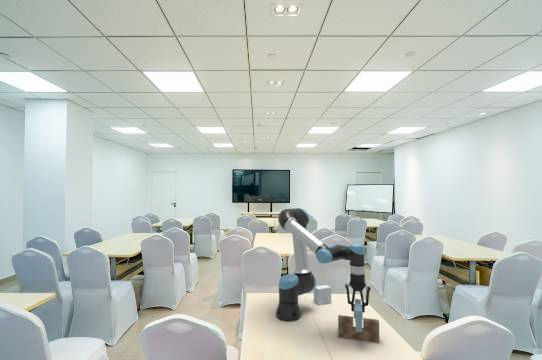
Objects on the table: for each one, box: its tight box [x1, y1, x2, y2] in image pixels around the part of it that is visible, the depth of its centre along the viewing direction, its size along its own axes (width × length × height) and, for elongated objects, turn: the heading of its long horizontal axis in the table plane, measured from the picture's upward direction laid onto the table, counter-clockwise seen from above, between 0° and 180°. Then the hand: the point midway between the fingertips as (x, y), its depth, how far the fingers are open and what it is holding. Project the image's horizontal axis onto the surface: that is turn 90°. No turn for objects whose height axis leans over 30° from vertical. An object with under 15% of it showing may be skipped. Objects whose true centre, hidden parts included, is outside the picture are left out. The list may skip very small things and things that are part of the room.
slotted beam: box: [337, 314, 380, 344], centre depth 143 cm, size 20×3×10 cm, turn 74°
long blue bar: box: [354, 298, 363, 332], centre depth 143 cm, size 3×16×10 cm, turn 165°
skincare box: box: [313, 284, 332, 306], centre depth 190 cm, size 10×6×10 cm, turn 113°
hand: (358, 317), depth 148 cm, fingers closed on long blue bar, 3 cm apart
